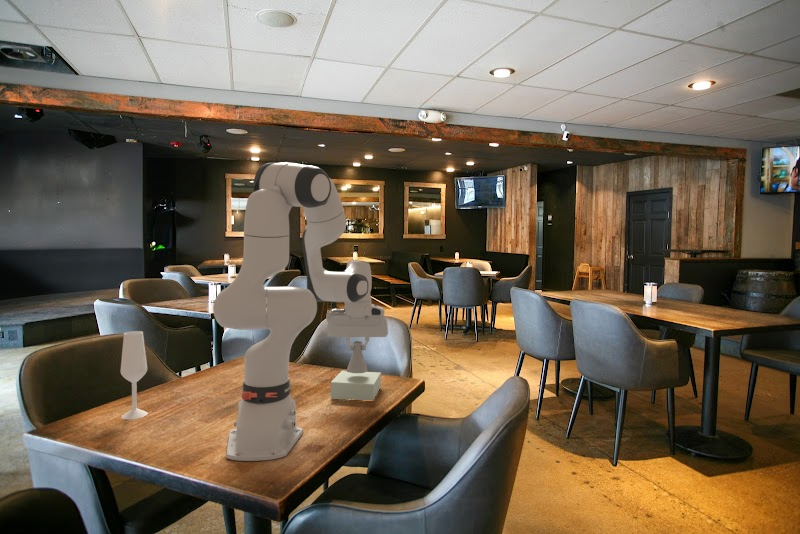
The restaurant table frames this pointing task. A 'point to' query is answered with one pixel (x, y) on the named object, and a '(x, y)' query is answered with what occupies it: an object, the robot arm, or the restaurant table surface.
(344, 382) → the sage block
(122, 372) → the champagne flute
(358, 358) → the flask
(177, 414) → the restaurant table surface
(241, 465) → the restaurant table surface
